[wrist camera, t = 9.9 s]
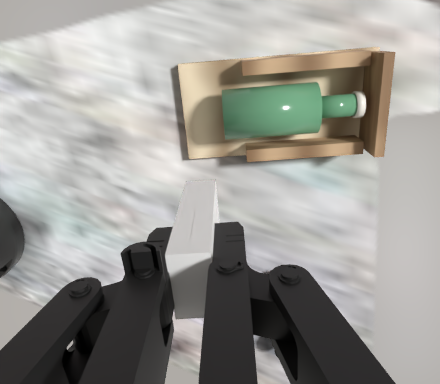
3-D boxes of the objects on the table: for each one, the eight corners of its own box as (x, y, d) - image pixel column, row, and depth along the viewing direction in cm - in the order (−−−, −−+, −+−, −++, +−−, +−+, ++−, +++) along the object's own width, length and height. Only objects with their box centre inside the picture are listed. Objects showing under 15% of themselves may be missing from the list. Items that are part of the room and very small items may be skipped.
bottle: (225, 145, 37) (368, 134, 36) (221, 92, 35) (372, 80, 34) (225, 133, 42) (351, 124, 41) (222, 87, 40) (354, 76, 39)
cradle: (189, 156, 44) (184, 173, 39) (179, 63, 40) (171, 67, 34) (367, 143, 43) (388, 158, 38) (375, 47, 39) (400, 48, 33)
